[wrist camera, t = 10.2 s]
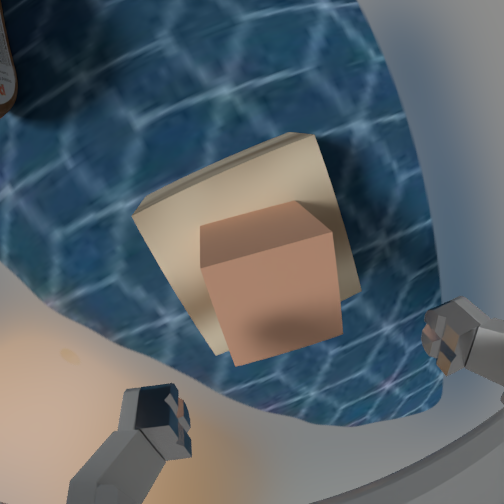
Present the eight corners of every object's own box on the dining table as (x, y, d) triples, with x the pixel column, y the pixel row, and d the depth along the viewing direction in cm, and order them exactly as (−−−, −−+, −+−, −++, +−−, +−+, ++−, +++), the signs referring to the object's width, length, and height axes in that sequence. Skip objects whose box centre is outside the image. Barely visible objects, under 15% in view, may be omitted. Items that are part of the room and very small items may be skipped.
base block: (147, 194, 20) (131, 216, 15) (288, 131, 19) (314, 134, 15) (211, 312, 24) (215, 355, 19) (332, 259, 24) (361, 290, 19)
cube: (199, 225, 16) (200, 268, 11) (294, 200, 16) (332, 231, 11) (225, 307, 18) (235, 366, 13) (309, 282, 18) (343, 333, 14)
